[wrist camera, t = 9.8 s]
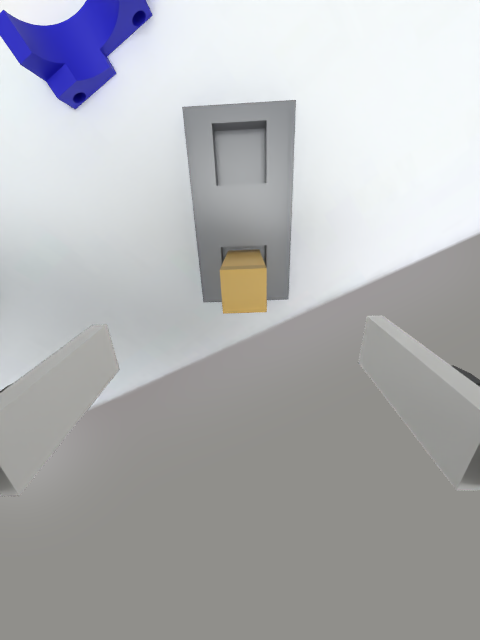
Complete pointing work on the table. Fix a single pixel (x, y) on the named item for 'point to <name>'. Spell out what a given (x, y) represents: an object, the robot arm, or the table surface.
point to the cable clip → (75, 45)
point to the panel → (242, 187)
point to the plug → (243, 282)
